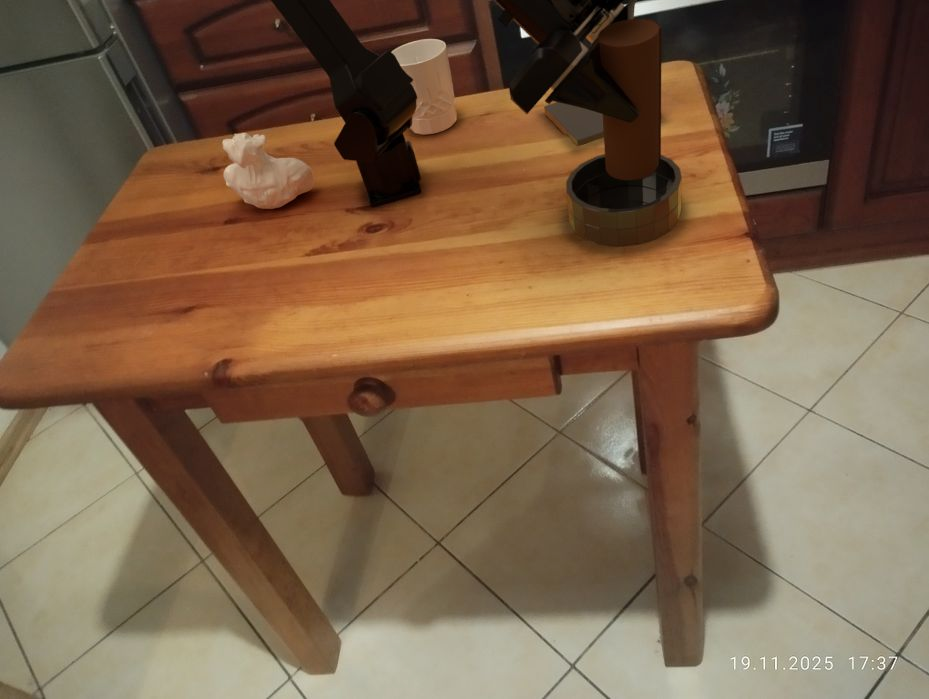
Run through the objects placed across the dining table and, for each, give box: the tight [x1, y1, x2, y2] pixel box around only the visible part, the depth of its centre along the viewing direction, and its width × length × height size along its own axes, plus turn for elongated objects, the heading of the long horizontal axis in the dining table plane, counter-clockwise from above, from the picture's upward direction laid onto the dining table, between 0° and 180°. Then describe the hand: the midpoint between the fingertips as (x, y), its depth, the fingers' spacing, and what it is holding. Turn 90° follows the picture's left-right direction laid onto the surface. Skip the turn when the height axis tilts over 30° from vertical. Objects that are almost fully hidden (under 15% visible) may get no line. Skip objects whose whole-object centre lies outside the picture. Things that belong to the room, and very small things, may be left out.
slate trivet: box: [543, 102, 604, 147], centre depth 86 cm, size 11×11×1 cm
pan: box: [565, 153, 683, 247], centre depth 69 cm, size 11×11×4 cm
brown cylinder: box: [598, 17, 663, 180], centre depth 61 cm, size 5×5×13 cm
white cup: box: [390, 38, 458, 136], centre depth 91 cm, size 8×8×10 cm
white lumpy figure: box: [221, 132, 315, 210], centre depth 84 cm, size 12×8×11 cm
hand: (646, 102), depth 61 cm, fingers closed on brown cylinder, 5 cm apart
